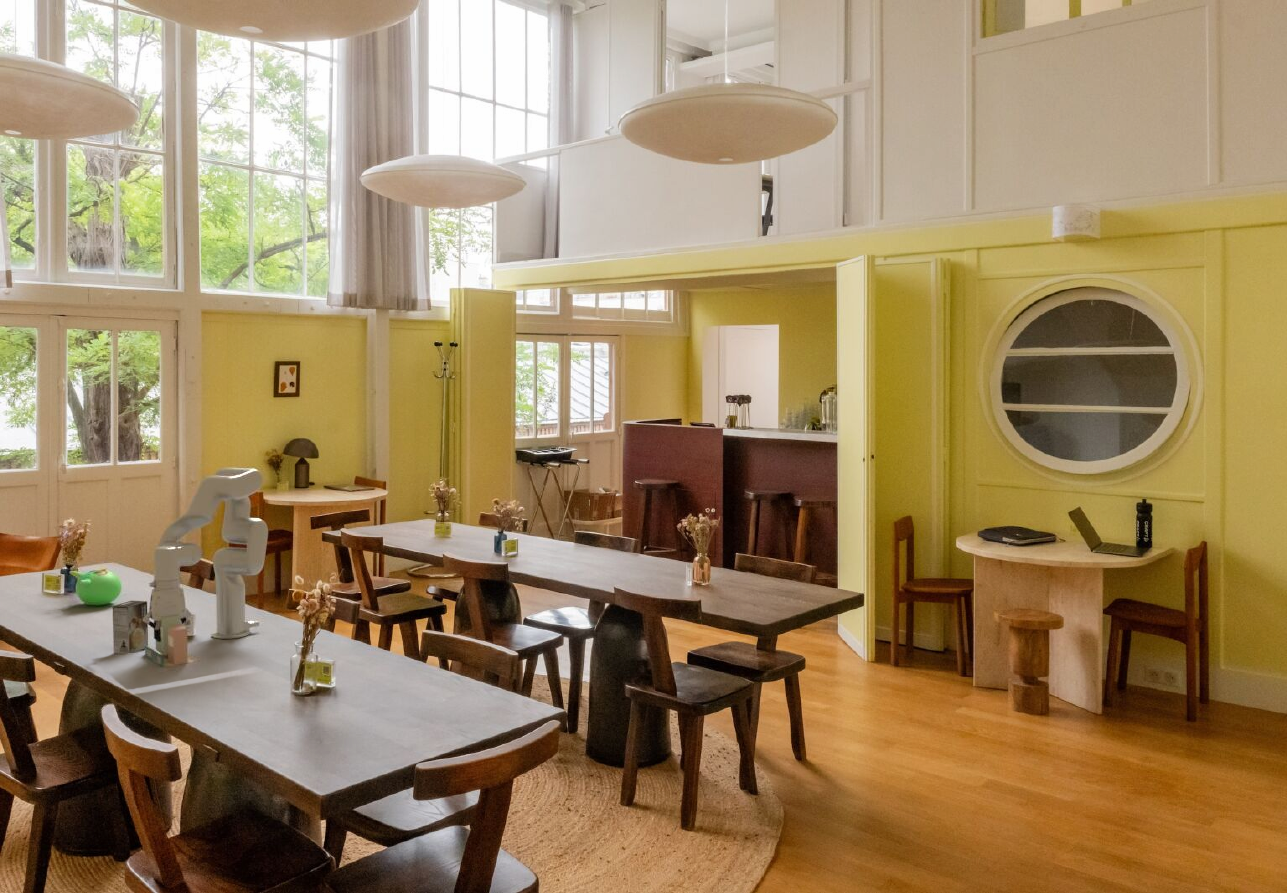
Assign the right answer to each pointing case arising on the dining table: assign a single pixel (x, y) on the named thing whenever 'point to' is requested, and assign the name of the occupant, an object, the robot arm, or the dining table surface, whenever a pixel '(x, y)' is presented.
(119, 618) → the coffee box
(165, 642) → the sage carton
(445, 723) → the dining table surface
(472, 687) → the dining table surface
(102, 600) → the green teapot
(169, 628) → the terracotta carton
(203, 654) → the dining table surface
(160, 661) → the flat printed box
